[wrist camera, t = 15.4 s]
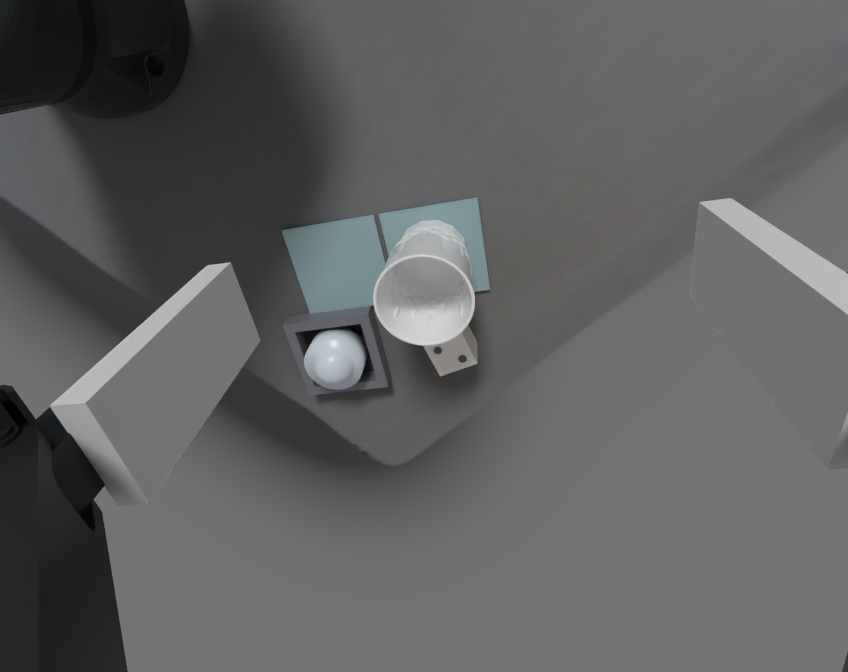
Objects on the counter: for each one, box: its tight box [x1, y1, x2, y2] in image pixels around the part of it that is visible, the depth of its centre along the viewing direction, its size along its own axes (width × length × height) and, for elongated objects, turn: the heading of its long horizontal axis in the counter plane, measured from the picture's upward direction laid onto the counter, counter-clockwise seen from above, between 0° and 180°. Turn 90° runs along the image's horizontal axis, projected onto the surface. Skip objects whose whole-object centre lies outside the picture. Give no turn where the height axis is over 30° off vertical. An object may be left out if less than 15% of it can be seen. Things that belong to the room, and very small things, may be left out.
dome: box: [304, 326, 368, 390], centre depth 51 cm, size 6×6×5 cm
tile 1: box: [282, 215, 386, 314], centre depth 49 cm, size 9×9×1 cm
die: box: [423, 324, 478, 376], centre depth 50 cm, size 4×4×4 cm
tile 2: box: [379, 197, 490, 292], centre depth 47 cm, size 9×9×1 cm
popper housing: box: [282, 306, 391, 395], centre depth 53 cm, size 9×9×2 cm
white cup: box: [373, 220, 475, 346], centre depth 43 cm, size 8×8×10 cm
